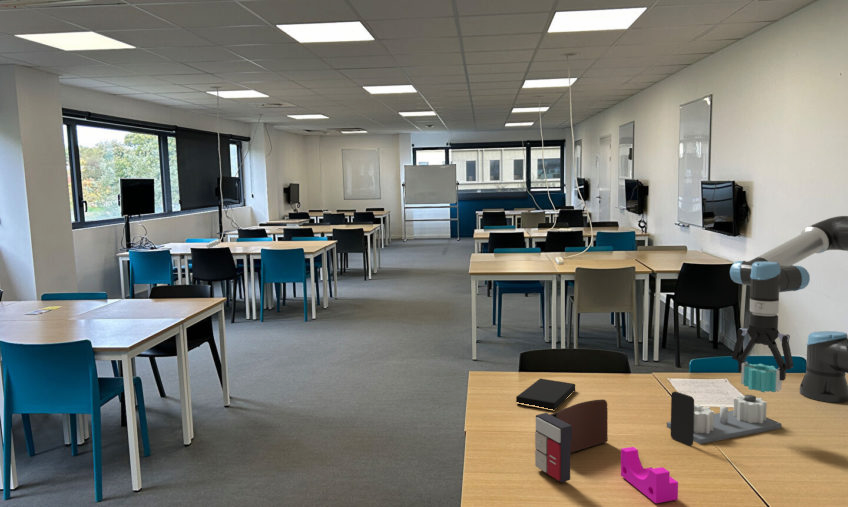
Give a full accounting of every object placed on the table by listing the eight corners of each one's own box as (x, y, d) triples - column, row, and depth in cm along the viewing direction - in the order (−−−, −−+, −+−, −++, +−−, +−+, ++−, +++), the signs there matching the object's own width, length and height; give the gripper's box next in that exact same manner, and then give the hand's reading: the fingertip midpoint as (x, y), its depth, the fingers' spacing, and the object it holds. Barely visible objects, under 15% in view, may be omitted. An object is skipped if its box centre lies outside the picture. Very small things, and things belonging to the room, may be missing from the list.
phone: (670, 438, 182) (671, 390, 180) (671, 437, 182) (672, 390, 181) (691, 447, 176) (693, 397, 174) (693, 446, 176) (694, 397, 174)
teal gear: (759, 380, 186) (760, 362, 186) (786, 389, 178) (787, 370, 177) (737, 384, 183) (737, 365, 183) (763, 394, 175) (764, 374, 174)
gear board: (744, 412, 201) (745, 387, 200) (781, 428, 187) (782, 401, 186) (666, 426, 190) (667, 400, 190) (699, 444, 177) (700, 416, 176)
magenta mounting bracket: (677, 499, 147) (678, 470, 146) (655, 503, 146) (656, 474, 145) (641, 472, 162) (641, 445, 161) (620, 475, 160) (621, 448, 159)
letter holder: (608, 442, 181) (608, 397, 179) (558, 457, 171) (558, 410, 170) (584, 430, 189) (584, 387, 188) (535, 445, 180) (535, 400, 178)
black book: (516, 404, 214) (516, 396, 214) (539, 385, 234) (539, 378, 234) (554, 411, 207) (554, 403, 207) (575, 391, 226) (575, 383, 226)
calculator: (533, 467, 165) (533, 415, 164) (545, 463, 167) (545, 412, 166) (559, 484, 156) (559, 428, 154) (572, 480, 158) (572, 425, 156)
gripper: (721, 310, 183) (718, 381, 186) (801, 320, 168) (797, 398, 170) (730, 306, 188) (728, 376, 191) (809, 316, 173) (805, 391, 175)
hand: (760, 386), depth 180 cm, fingers closed on teal gear, 9 cm apart
